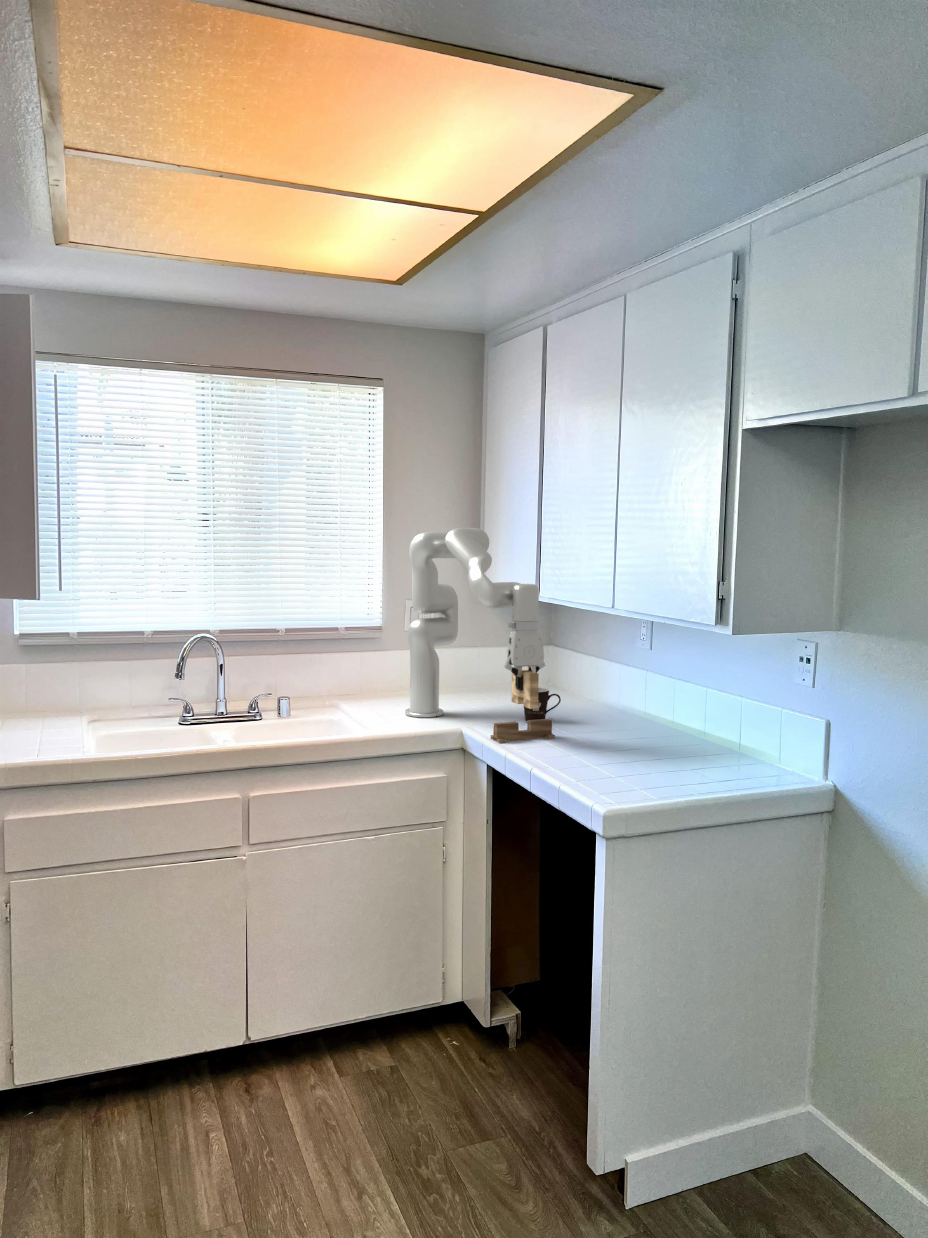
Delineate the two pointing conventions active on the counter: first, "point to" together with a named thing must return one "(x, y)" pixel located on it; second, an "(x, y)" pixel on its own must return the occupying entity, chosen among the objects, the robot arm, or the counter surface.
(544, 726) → the walnut notched block
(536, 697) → the oak slotted plate
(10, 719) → the counter surface
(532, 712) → the coffee mug
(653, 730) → the counter surface
